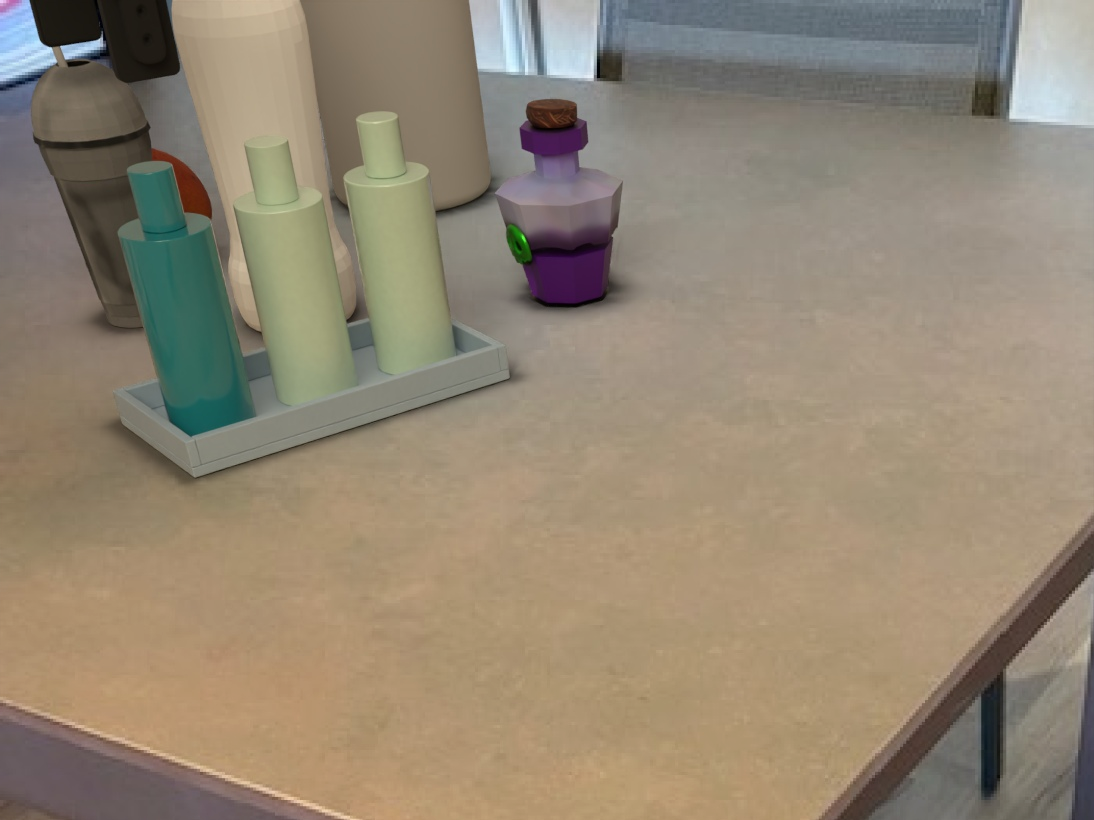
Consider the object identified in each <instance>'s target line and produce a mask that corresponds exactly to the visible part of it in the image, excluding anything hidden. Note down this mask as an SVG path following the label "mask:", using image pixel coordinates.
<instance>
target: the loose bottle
mask: <svg viewBox="0 0 1094 820" xmlns="http://www.w3.org/2000/svg"><path fill="white" fill-rule="evenodd" d="M127 174H128V178H129V182H130V186H131V190H132V193H133V197H134V201H135V205H136V209H137V212H138V216H139V218H138V219H135V220H133V221H130V222H128V223H126V224H124V225H123V226H121V227H120V228H119V230H118V237H119V240H120V244H121V248H122V251H123V255H124V259H125V262H126V266H127V270H128V273H129V277H130V281H131V284H132V288H133V292H134V295H135V299H136V303H137V306H138V310H139V314H140V317H141V321H142V325H143V327H142V328H143V332H144V335H145V339H146V344H147V346H148V350H149V354H150V359H151V361H152V365H153V368H154V373H155V376H156V378H157V380H158V384H159V387H160V391H161V395H162V398H163V402H164V406H165V409H166V413H167V417H168V420H169V422H170V423H172V424H173V425H175V426H176V427H177V428H179V429H180V430H182V431H183V432H184V433H186V434H187V435H189V436H190V437H192V436H195V435H198V434H201V433H205V432H208V431H211V430H214V429H218V428H221V427H224V426H228V425H231V424H234V423H237V422H241V421H244V420H247V419H251V418H254V417H257V414H256V410H255V406H254V401H253V397H252V393H251V389H250V384H249V380H248V376H247V372H246V367H245V363H244V359H243V355H242V353H243V351H242V347H241V342H240V338H239V334H238V330H237V326H236V321H235V317H234V313H233V307H232V304H231V300H230V296H229V291H228V286H227V282H226V277H225V274H224V270H223V267H222V265H223V264H222V261H221V257H220V253H219V248H218V244H217V240H216V235H215V232H214V228H213V222H212V220H210V219H209V218H208V217H206V216H204V215H200V214H195V213H184V210H183V206H182V202H181V198H180V193H179V189H178V185H177V181H176V177H175V173H174V169H173V165H172V164H171V163H169V162H165V161H148V162H142V163H138V164H134V165H132V166H130V167H128V168H127Z"/></svg>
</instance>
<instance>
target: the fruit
mask: <svg viewBox="0 0 1094 820" xmlns="http://www.w3.org/2000/svg"><path fill="white" fill-rule="evenodd" d="M151 148H152V161H165V162H169V163H171V164H172V165H173V169H174V173H175V177H176V181H177V185H178V189H179V193H180V198H181V202H182V206H183V210H184V213H195V214H200V215H204V216H206V217H208V218H209V219H210V220H211V221H212V219H213V207H212V203H211V198H210V196H209V194H208V191H207V190H206V187H205V185H204V183H202V180H201V179H200V178H199V176H197V174H196V172H194V171H193V170H192V169H191V168H190V167H189V166H188V165H187V164H186V163H184V161H182V160H181V159H179V158H177V157H176V156H174V155H172V154H170V153H168V152H166V151H163V150H160V149H157V148H153V147H151Z"/></svg>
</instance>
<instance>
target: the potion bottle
mask: <svg viewBox="0 0 1094 820" xmlns="http://www.w3.org/2000/svg"><path fill="white" fill-rule="evenodd" d="M525 107H526V108H525V115H526V120H525V121H524V122H523V123H522V124H521V125H520V126H519V128H518V129H519V137H520V147H521V150H523V151H525V152H528V153H530V154H532V155H533V161H534V169H535V170H531V171H528V172H525V173H521V174H517V175H515V176H511V177H507V178H506V180H505V181H504V182H503V183H502V184H500V186H499V188H497V190H496V191H495V192H494V195H495V199H496V201H497V205H498V209H499V211H500V213H501V217H502V220H503V223H504V226H505V229H506V230H505V237H506V242H507V245H508V248H509V250H510V252H511V255H512V257H514V259H515V262H516V263H517V264H520V265H522V269H523V271H524V274H525V277H526V280H527V283H528V286H529V289H530V292H531V295H530V296H529V299H530V300H533V301H535V302H536V303H538V304H540V305H542V306H544V307H553V308H554V307H556V308H559V307H560V308H578V307H582V306H583V307H584V306H586V305H589V304H594V303H597V302H600V301H604V300H605V298H606V297H607V294H608V293H609V292H610V290H611V288H610V287H608V286H609V277H610V268H611V261H612V252H613V244H614V236H613V234H614V232H615V231H616V229H617V228H618V226H619V218H620V210H621V203H622V202H621V201H622V195H623V194H622V193H623V186H624V179H622V178H619V177H617V176H615V175H612V174H609V173H607V172H604V171H603V170H599V169H597V168H590V167H582V166H580V156H579V151H582V150H584V149H585V147H586V146H587V145H588V143H589V133H588V122H587V120H584V119H582V118H580V117H578V104H577V103H576V102H575V101H572V100H570V99H569V100H568V99H563V98H545V99H543V98H542V99H534V100H531V101H529V102H528V103H527V104H526V106H525Z"/></svg>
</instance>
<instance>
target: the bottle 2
mask: <svg viewBox="0 0 1094 820" xmlns="http://www.w3.org/2000/svg"><path fill="white" fill-rule="evenodd" d="M244 147H245V152H246V156H247V161H248V166H249V170H250V175H251V180H252V184H253V189H254V191H252V192H249V193H246V194H244V195H242V196H240V197H238V198H237V199H236V200H235V201H234V203H233V207H234V212H235V216H236V221H237V225H238V230H239V234H240V239H241V243H242V247H243V252H244V256H245V261H246V265H247V270H248V274H249V279H250V283H251V287H252V292H253V296H254V301H255V305H256V310H257V314H258V319H259V323H260V327H261V332H260V333H261V336H262V340H263V341H262V342H263V344H264V347H265V350H266V354H267V359H268V363H269V367H270V372H271V376H272V381H273V385H274V390H275V394H276V397H277V399H278V400H279V401H280V402H281V403H283V404H286V405H289V406H293V405H297V404H300V403H303V402H307V401H310V400H313V399H317V398H320V397H323V396H326V395H330V394H333V393H336V392H340V391H343V390H346V389H350V388H353V387H356V386H359V384H358V379H357V374H356V369H355V363H354V358H353V353H352V348H351V342H350V337H349V332H348V326H347V324H348V321H347V320H346V316H345V311H344V305H343V300H342V295H341V290H340V284H339V279H338V274H337V269H336V263H335V258H334V253H333V248H332V242H331V237H330V232H329V227H328V221H327V216H326V211H325V205H324V200H323V195H322V194H321V192H320V191H318V190H316V189H313V188H308V187H301V186H297V183H296V178H295V173H294V168H293V163H292V158H291V153H290V148H289V143H288V139H287V138H286V137H283V136H278V135H267V136H259V137H254V138H251V139H248V140H246V141H245V142H244Z"/></svg>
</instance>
